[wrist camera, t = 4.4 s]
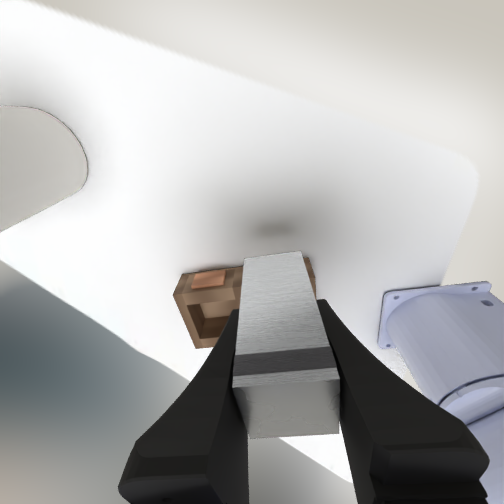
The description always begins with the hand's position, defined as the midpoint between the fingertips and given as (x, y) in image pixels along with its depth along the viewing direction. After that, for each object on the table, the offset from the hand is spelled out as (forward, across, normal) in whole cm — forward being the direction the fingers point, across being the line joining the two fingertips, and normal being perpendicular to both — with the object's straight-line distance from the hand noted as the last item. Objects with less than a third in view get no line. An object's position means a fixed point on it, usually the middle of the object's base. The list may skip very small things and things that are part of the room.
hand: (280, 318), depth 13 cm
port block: (+10, +3, +6) cm, 12 cm away
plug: (+3, 0, 0) cm, 3 cm away
